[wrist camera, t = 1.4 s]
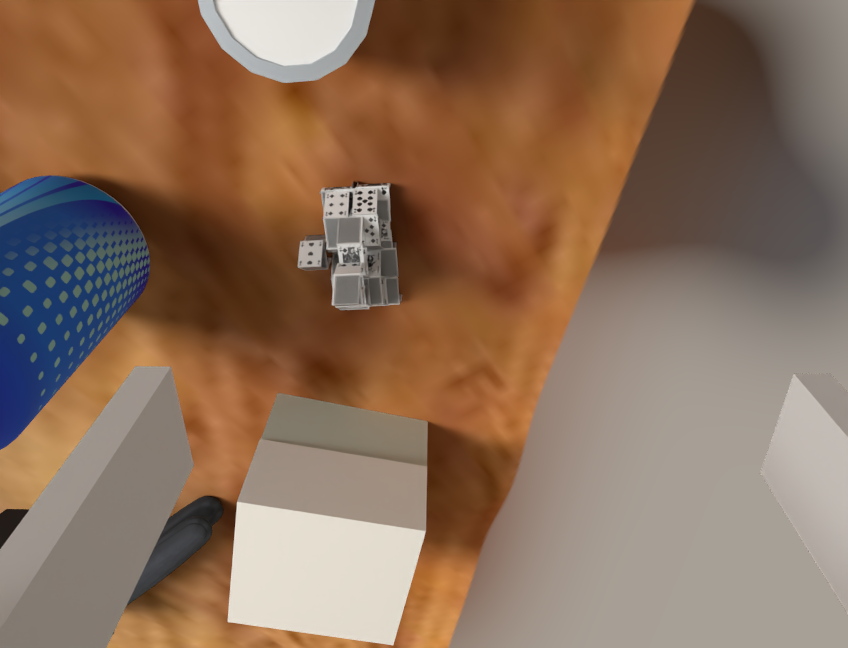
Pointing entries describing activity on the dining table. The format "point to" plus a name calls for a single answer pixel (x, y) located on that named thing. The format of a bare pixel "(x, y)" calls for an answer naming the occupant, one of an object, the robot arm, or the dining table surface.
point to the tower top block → (326, 542)
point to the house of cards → (356, 247)
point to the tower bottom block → (347, 430)
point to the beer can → (59, 286)
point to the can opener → (179, 541)
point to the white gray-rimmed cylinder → (289, 34)
